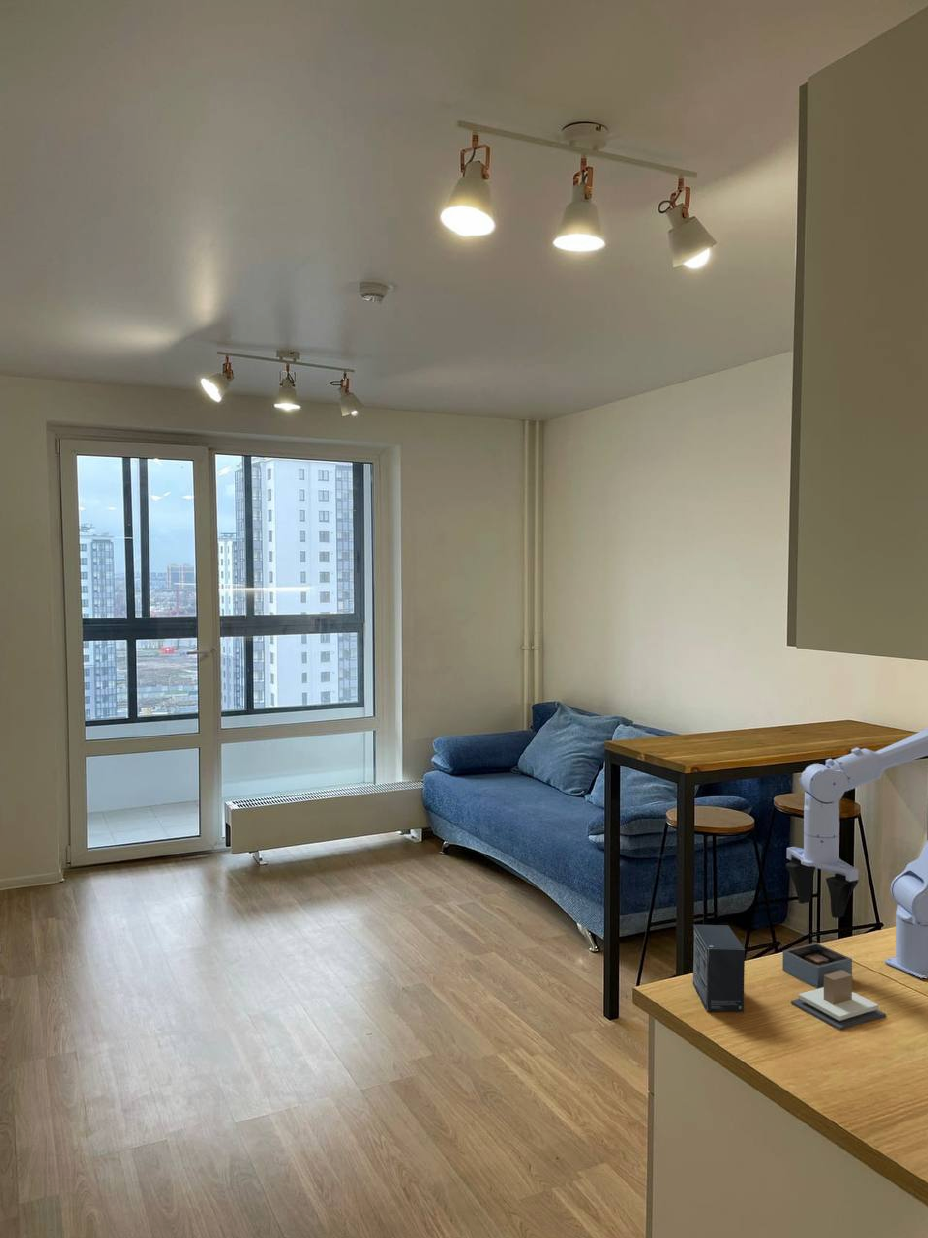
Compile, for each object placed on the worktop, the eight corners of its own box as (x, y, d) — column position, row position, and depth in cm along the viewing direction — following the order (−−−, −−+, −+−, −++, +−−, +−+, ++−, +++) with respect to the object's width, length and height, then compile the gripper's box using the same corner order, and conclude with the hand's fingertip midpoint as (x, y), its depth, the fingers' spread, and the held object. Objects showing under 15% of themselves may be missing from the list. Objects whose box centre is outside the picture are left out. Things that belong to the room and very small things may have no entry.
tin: (815, 961, 166) (816, 942, 166) (851, 978, 159) (852, 958, 159) (782, 969, 163) (782, 950, 162) (817, 988, 155) (817, 967, 155)
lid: (836, 991, 153) (836, 959, 153) (878, 1012, 146) (878, 979, 146) (798, 1001, 150) (798, 969, 150) (839, 1024, 142) (839, 990, 142)
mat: (835, 990, 154) (835, 988, 154) (885, 1016, 145) (885, 1013, 145) (790, 1003, 150) (790, 1000, 150) (839, 1030, 141) (839, 1027, 141)
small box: (747, 1012, 147) (747, 948, 147) (706, 1012, 147) (706, 948, 147) (729, 983, 158) (729, 923, 157) (691, 983, 158) (691, 923, 157)
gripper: (774, 826, 167) (773, 899, 168) (837, 847, 154) (836, 927, 155) (803, 821, 170) (802, 893, 171) (867, 841, 157) (866, 919, 158)
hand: (820, 909), depth 163 cm, fingers open, 7 cm apart
